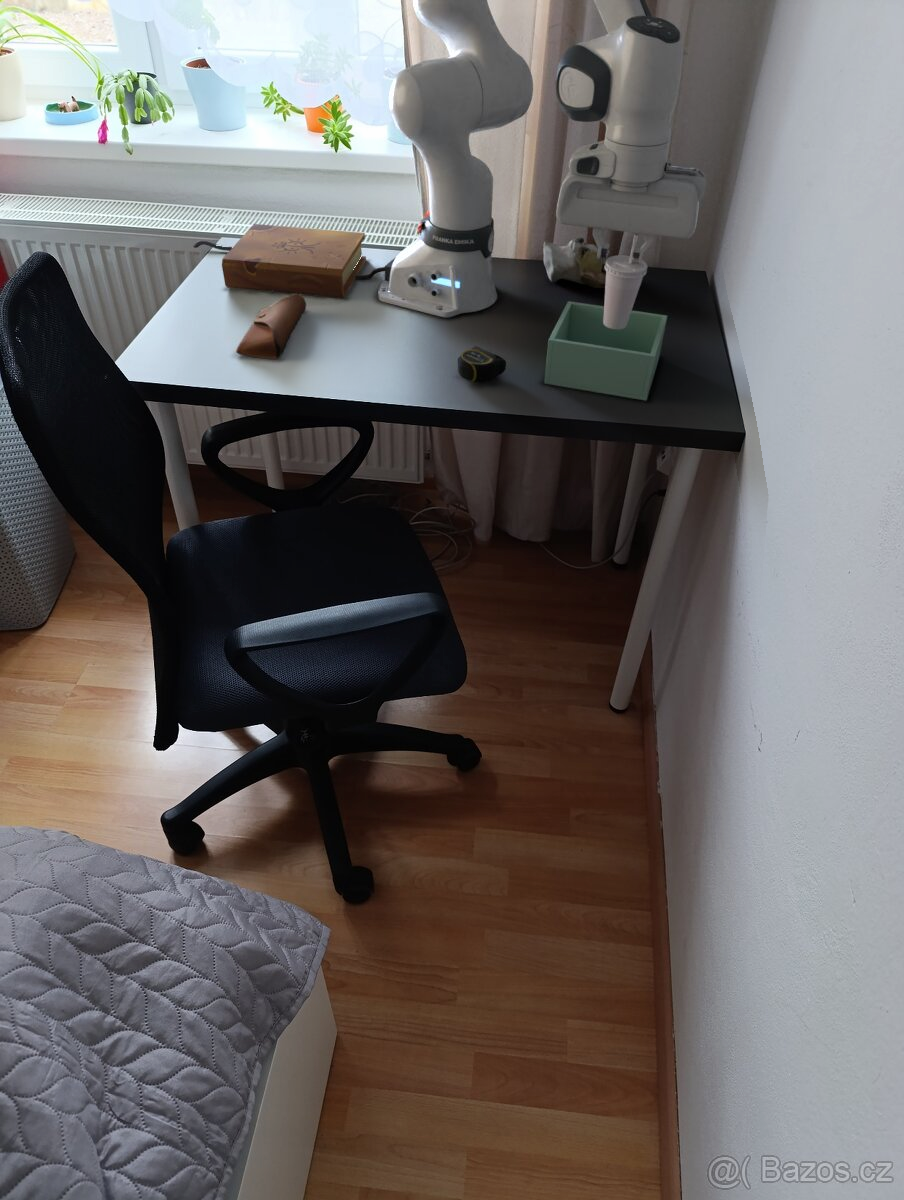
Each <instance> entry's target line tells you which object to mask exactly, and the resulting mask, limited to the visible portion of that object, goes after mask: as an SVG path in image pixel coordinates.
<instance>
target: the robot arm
mask: <svg viewBox="0 0 904 1200" xmlns="http://www.w3.org/2000/svg"><path fill="white" fill-rule="evenodd" d="M593 2H594V4H595V6H596V9H597V11H598V13H599V15H600V18H601V20H602V22H603V25H604V27H605V30H606V32H607V34H604V35H602V36H599V37H595V38H591V39H588V40H584V41H580V42H578V43H576V44H573V45H571V46H569V47H568V48H567V49H566V50H565V52H564V53H563V55H562V57H561V58H560V60H559V63H558V66H557V69H556V74H555V81H554V82H555V95H556V99H557V102H558V105H559V108H560V109H561V111H562V112H563V113H564V114H565V116H566V117H568V118H569V119H570V120H571V121H575V122H581V123H595V122H601V123H603V124H604V125H605V135H604V140H600V141H596V142H592V143H587V144H583V145H581V146H579V147H578V148H576V150H575V151H573V153H572V155H571V157H570V158H569V162H568V173H567V174H566V176H565V178H564V180H563V181H562V183H561V187H560V189H559V194H558V198H557V205H556V212H555V217H556V219H557V221H558V222H559V224H561V225H565V226H575V227H584V228H591V229H592V237H593V240H594V242H595V245H596V246H597V247H598V254H597V258H599V259H603V260H607V259H608V258H609V254H610V251H609V250H610V247H611V243H605V240H604V237H603V233H604V231H605V230H608V231H617V232H625V233H632V234H633V233H634V234H640V235H641V234H642V235H643V240H642V241H643V242H644V243H643V244H642V245H641V247H637V246H636V248H635V250H634V253H633V259H632V263H639V264H642V262H643V261H644V257H645V253H646V252H647V250H648V249H649V248H650V246H651V245H652V244H653V242H654V240H655V237H656V236H657V237H666V238H675V239H682V240H683V239H684V240H688V239H690V238H691V236H693V234H695V231H696V228H697V223H698V216H699V207H700V201H701V200H702V199H703V198H704V196H705V194H706V190H707V186H708V177H707V174H706V173H705V172H704V171H703V170H700V169H699V168H700V167H699V166H696V165H682V164H677V163H670V162H669V163H668V155H669V150H670V149H669V148H670V143H671V138H672V137H671V136H672V131H671V130H672V129H671V119H672V116H673V113H674V110H675V107H676V105H677V101H678V96H679V90H680V84H681V76H682V68H683V55H684V54H683V51H684V48H683V40H682V34H681V31H680V30H679V28H678V27H677V26H676V25H675V24H674V23H672V22H671V21H669V20H667V19H664V18H661V17H655V16H653V15H652V13H651V10H650V9H649V6H648V4H647V2H646V0H593ZM412 4H413V10H414V12H415V15H416V17H417V19H418V20H419V22H421V24H422V25H423V26H424V27H427V28H428V29H429V30H431V31H433V32H434V33H436V34H437V36H439V37H440V38H441V40H442V41H443V43H444V45H445V47H446V49H447V52H448V54H449V56H448V57H441V58H435V59H427V60H423V61H420V62H418V63H416V64H413V65H411V66H409V67H407V68H404V69H402V70H400V71H398V72H397V73H396V74H395V76H394V78H393V80H392V82H391V86H390V89H389V95H388V102H389V103H388V106H389V112H390V116H391V118H392V121H393V124H394V126H395V127H396V128H397V130H398V131H399V133H400V134H401V135H403V137H404V138H406V139H407V140H409V141H410V142H411V143H412V144H413V145H414V146H415V148H416V149H417V151H418V152H419V154H420V156H421V158H422V161H423V163H424V167H425V169H426V174H427V181H428V182H427V183H428V200H429V202H428V203H429V209H428V210H427V211H426V212H425V213H424V214H423V218H422V219H421V220H420V221H419V225H418V226H417V227H416V229H417V232H416V233H417V234H418V235H419V236H420V237H418V238H417V239H416V240H414V241H413V242H411V243H410V244H409V245H408V246H406V247H405V248H403V249H402V250H401V251H400V252H399V253H398V254H397V255H396V256H395V257H394V258H392V259H391V260H390V261H389V262H387V263H386V264H385V265H384V266H382V267H376V268H374V269H373V270H372V271H371V272H370V273H369V274H362V275H358V276H355V281H365V280H371V279H372V278H374V277H375V276H376V275H377V274H379V273H384V280H383V281H382V282H381V283H380V285H379V286H378V291H377V298H378V299H379V301H380V302H383V303H387V304H390V305H394V306H399V307H401V308H406V309H410V310H414V311H417V312H421V313H425V314H428V315H432V316H437V317H441V318H446V319H447V318H453V317H455V316H457V315H461V314H466V313H475V312H478V311H481V310H484V309H487V308H489V307H491V306H493V305H494V304H495V302H497V299H498V292H497V290H496V289H497V288H496V285H495V280H494V271H493V261H492V259H493V258H492V254H493V251H494V247H495V246H494V245H495V222H494V221H495V219H494V218H493V197H494V196H493V194H494V177H493V173H492V171H491V169H490V168H489V166H488V165H487V164H486V163H485V162H484V161H483V160H482V159H481V158H478V157H477V156H475V155H473V154H472V151H471V147H470V136H471V134H474V133H479V132H484V131H489V130H494V129H499V128H502V127H505V126H507V125H509V124H511V123H513V122H514V121H516V120H518V119H520V118H522V117H524V116H525V114H527V111H529V109H530V106H531V103H532V100H533V96H534V95H533V94H534V81H533V80H534V79H533V74H532V72H531V69H530V67H529V66H530V65H528V63H527V61H526V60H525V59H524V57H522V55H521V54H519V53H518V52H517V51H515V49H513V48H512V46H510V44H509V43H508V42H507V41H506V39H505V38H504V36H503V34H502V33H501V31H500V29H499V27H498V26H497V23H496V21H495V19H494V17H493V14H492V12H491V9H490V6H489V2H488V0H412ZM203 245H204V246H208V247H211V248H213V249H216V250H219V251H227V252H229V251H230V250H231V249H232V247H233V246H229V247H222V246H223V245H221V246H216V245H218V244H216V243H214V242H212V241H208V240H205V239H202V240H198V241H196V242H195V243H194V245H193V248H194V249H196V248H197V249H198V248H199V247H200V246H203Z"/></svg>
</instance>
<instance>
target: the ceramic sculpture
mask: <svg viewBox="0 0 904 1200" xmlns="http://www.w3.org/2000/svg"><path fill="white" fill-rule="evenodd" d="M542 251H543V265H544V267H545V270H546V273H547V277H548V279H549V281H550V282H551V283H556V282H557V281H558V280H565V281H570V282H573V283H574V284H580V285H587V286H589V287H591V288H592V289H593V288H594V289H605V284H606V270H605V267H604V266H605V264H606V260H604V259H599V258H597V254H598V247H597V245H596V244H593V243H591V244H590V243H589V242H585V239H584V238H583V237H579V238H578V237H577V238H574V239H572V240H570V241H569V242H568V243H567V244H566V245H563V246H561V245H558V244H556V243H554V242H548V241H543V249H542Z"/></svg>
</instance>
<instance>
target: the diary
mask: <svg viewBox="0 0 904 1200" xmlns="http://www.w3.org/2000/svg"><path fill="white" fill-rule="evenodd" d="M365 238H366V233H365V232H359V231H347V230H346V231H345V230H334V229H323V228H322V229H321V228H309V227H297V226H296V227H294V226H285V225H284V226H283V225H271V224H261V223H260V224H258V223H252V225H251V227H249V228H248V230H247V231H246V232H245V233H244V234H243V235H242V236H241V238H240V239H239V240H238V241H237V242H236V243H235V244H234V245H233V246H232V247H233V248H232V249H231V250H230V251H227V253H226V254H225V255H224V256H223V257H222V260H221V270H222V275H223V280H224V285H225V287H226V288H227V289H234V290H235V289H237V290H246V291H258V292H268V293H278V294H279V293H281V294H289V295H292V294H295V293H298V294H300V295H301V296H313V297H325V298H334V299H335V298H336V299H345V298H346V296H347V294H348V293H349V291H350V290H351V288H352V286H353V284H354V283H355V281H356V280H355V276H359V274H360V272H361V270H362V269H363V267H364V265H365V263H366V262H367V256H366V255H363V252H362V243H363V241H364V240H365ZM361 255H362V257H361ZM360 257H361V259H360ZM359 259H360V260H359ZM358 261H359V262H358ZM357 262H358V264H357ZM356 264H357V265H356ZM355 266H356V267H355ZM354 267H355V268H354ZM353 269H354V270H353Z"/></svg>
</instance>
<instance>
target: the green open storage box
mask: <svg viewBox="0 0 904 1200" xmlns="http://www.w3.org/2000/svg"><path fill="white" fill-rule="evenodd" d="M603 318H604V305H597V304H591V303H583V302H576V301H569V300H568V301H567V303H566V305H565V306H564V309H563V310H562V313H561V314H560V316H559V318H558V321H557V322H556V324H555V326H554V328H553V330H552V332H551V334H550V336H549V338H548V341H547V352H546V353H547V354H546V361H545V371H544V384H546V385H551V386H557V387H564V388H569V389H575V390H581V391H586V392H592V393H599V394H604V395H611V396H617V397H622V398H628V399H633V400H634V399H635V400H640V401H647V400H648V398H649V395H650V391H651V387H652V383H653V381H654V376H655V373H656V371H657V367H658V363H659V360H660V355H661V350H662V346H663V340H664V336H665V330H666V326H667V325H666V324H667V320H668V315H665V314H659V313H650V312H644V311H638V310H632V311H631V314H630V317H629V319H628V322H627V325H626V327H625V328H623V329H611V328H608V327H606V326H605V325H604V324H603Z"/></svg>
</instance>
